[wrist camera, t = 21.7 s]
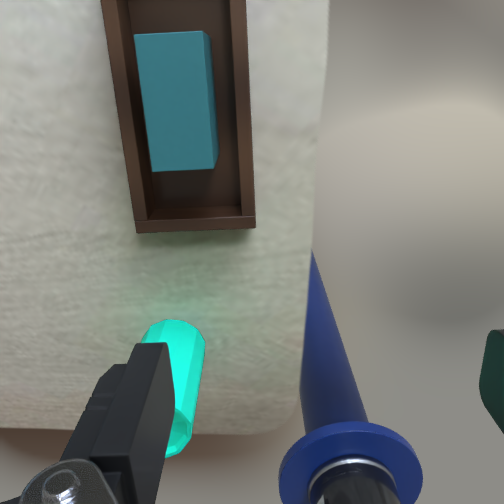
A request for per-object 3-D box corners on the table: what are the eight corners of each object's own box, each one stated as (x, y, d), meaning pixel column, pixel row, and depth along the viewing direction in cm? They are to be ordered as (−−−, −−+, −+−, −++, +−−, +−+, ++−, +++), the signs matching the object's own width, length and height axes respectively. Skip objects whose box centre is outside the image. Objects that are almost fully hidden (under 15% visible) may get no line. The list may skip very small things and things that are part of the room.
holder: (255, 213, 37) (255, 228, 34) (147, 218, 37) (136, 233, 34) (243, -52, 30) (242, -67, 26) (109, -44, 30) (91, -59, 27)
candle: (175, 307, 40) (146, 398, 29) (219, 350, 42) (207, 451, 31) (128, 343, 42) (84, 442, 31) (173, 383, 44) (145, 491, 33)
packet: (211, 36, 31) (202, 30, 26) (220, 152, 34) (214, 169, 29) (154, 40, 31) (133, 34, 26) (168, 155, 34) (152, 172, 29)
